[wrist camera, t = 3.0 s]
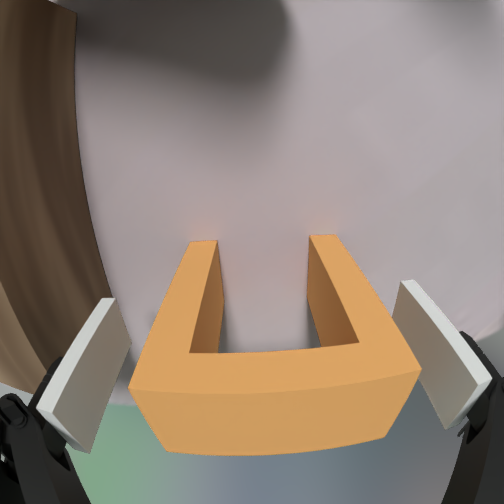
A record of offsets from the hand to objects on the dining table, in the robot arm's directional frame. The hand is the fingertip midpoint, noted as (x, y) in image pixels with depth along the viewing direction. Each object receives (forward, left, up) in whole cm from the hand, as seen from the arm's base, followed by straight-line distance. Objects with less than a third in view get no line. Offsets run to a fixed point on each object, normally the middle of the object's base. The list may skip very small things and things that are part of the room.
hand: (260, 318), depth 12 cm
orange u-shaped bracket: (0, 0, -4) cm, 4 cm away
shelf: (+21, -7, -4) cm, 22 cm away
